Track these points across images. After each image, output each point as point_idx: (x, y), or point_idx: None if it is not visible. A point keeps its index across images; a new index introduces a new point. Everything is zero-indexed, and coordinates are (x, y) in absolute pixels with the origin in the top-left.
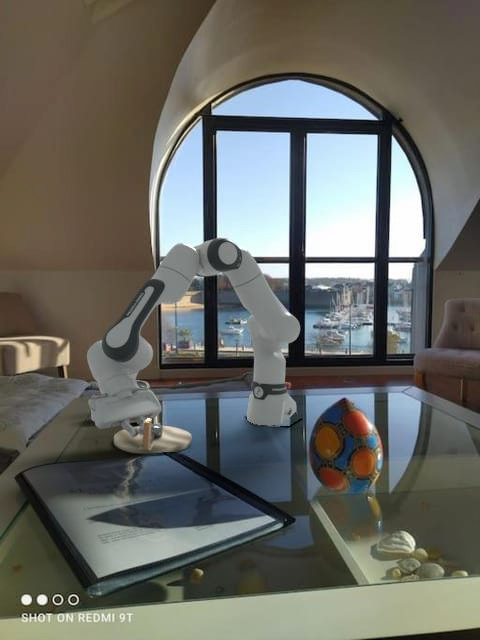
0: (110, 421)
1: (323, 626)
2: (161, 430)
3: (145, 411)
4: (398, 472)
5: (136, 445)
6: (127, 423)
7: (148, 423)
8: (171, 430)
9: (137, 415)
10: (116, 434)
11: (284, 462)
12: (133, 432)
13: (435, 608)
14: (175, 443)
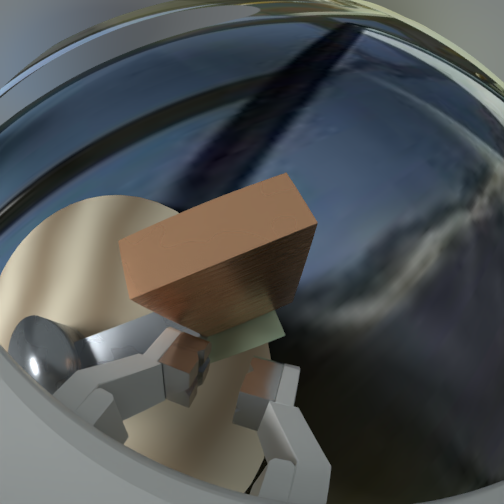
0: (497, 482)
1: (440, 35)
2: (47, 319)
3: (3, 383)
4: (157, 14)
5: (236, 382)
6: (316, 462)
7: (290, 183)
8: (4, 326)
9: (119, 446)
10: None
11: (157, 50)
12: (297, 379)
13: (380, 7)
14: (120, 225)
